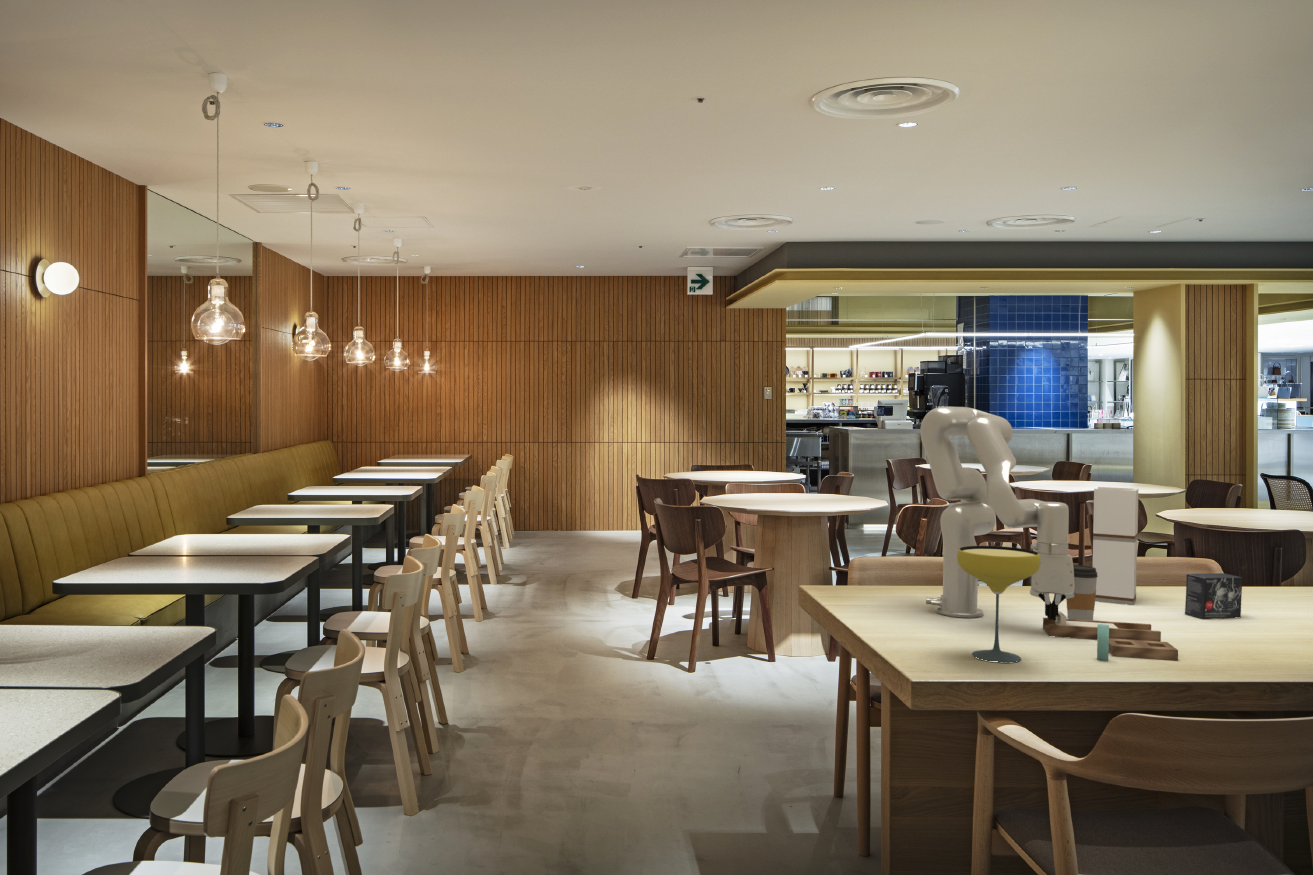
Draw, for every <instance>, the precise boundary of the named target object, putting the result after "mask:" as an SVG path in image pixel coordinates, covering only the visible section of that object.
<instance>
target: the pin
mask: <svg viewBox="0 0 1313 875" xmlns="http://www.w3.org/2000/svg"><path fill="white" fill-rule="evenodd" d="M1109 656H1110V653H1109V625H1105V624H1098V633H1097V642H1096V659H1097V660H1098V661H1103V662H1107V661H1109Z"/></svg>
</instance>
